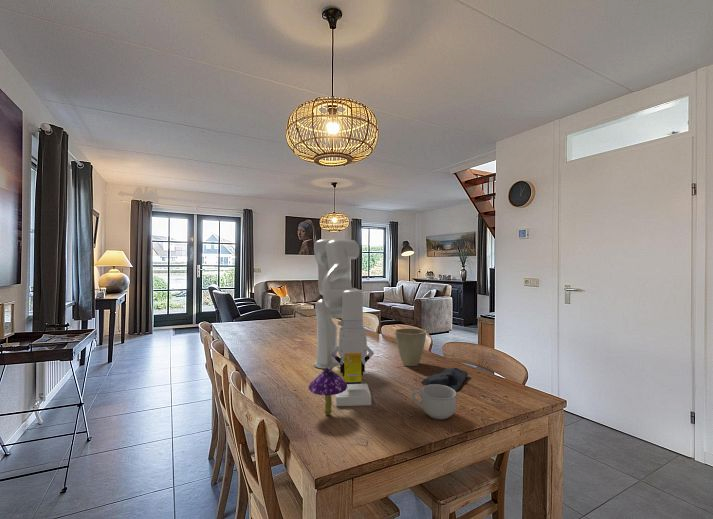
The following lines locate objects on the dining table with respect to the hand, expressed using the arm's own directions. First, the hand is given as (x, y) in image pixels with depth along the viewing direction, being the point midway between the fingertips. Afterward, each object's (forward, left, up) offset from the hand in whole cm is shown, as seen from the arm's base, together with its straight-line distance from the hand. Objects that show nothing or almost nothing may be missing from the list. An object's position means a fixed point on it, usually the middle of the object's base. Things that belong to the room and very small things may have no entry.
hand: (352, 374), depth 121 cm
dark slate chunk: (-15, +40, -9) cm, 44 cm away
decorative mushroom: (+12, -9, -9) cm, 17 cm away
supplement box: (0, 0, -3) cm, 3 cm away
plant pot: (-39, +31, -9) cm, 51 cm away
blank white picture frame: (0, 0, -9) cm, 9 cm away
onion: (-18, -4, -9) cm, 21 cm away
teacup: (+15, +25, -9) cm, 30 cm away
